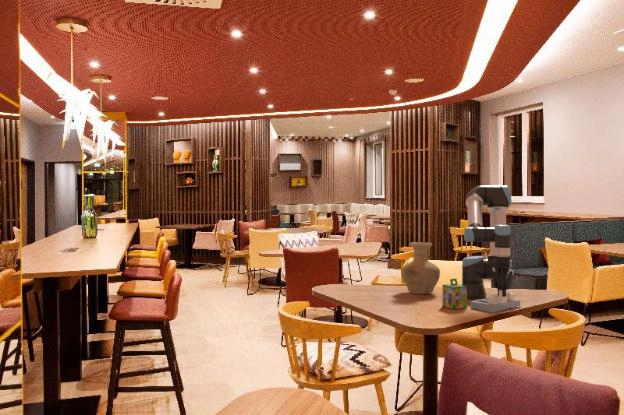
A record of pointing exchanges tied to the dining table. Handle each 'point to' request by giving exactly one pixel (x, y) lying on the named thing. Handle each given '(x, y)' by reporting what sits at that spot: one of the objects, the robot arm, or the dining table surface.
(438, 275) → the vase
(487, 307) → the switch bank
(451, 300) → the chalk box
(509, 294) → the tab
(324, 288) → the dining table surface
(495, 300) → the tab
